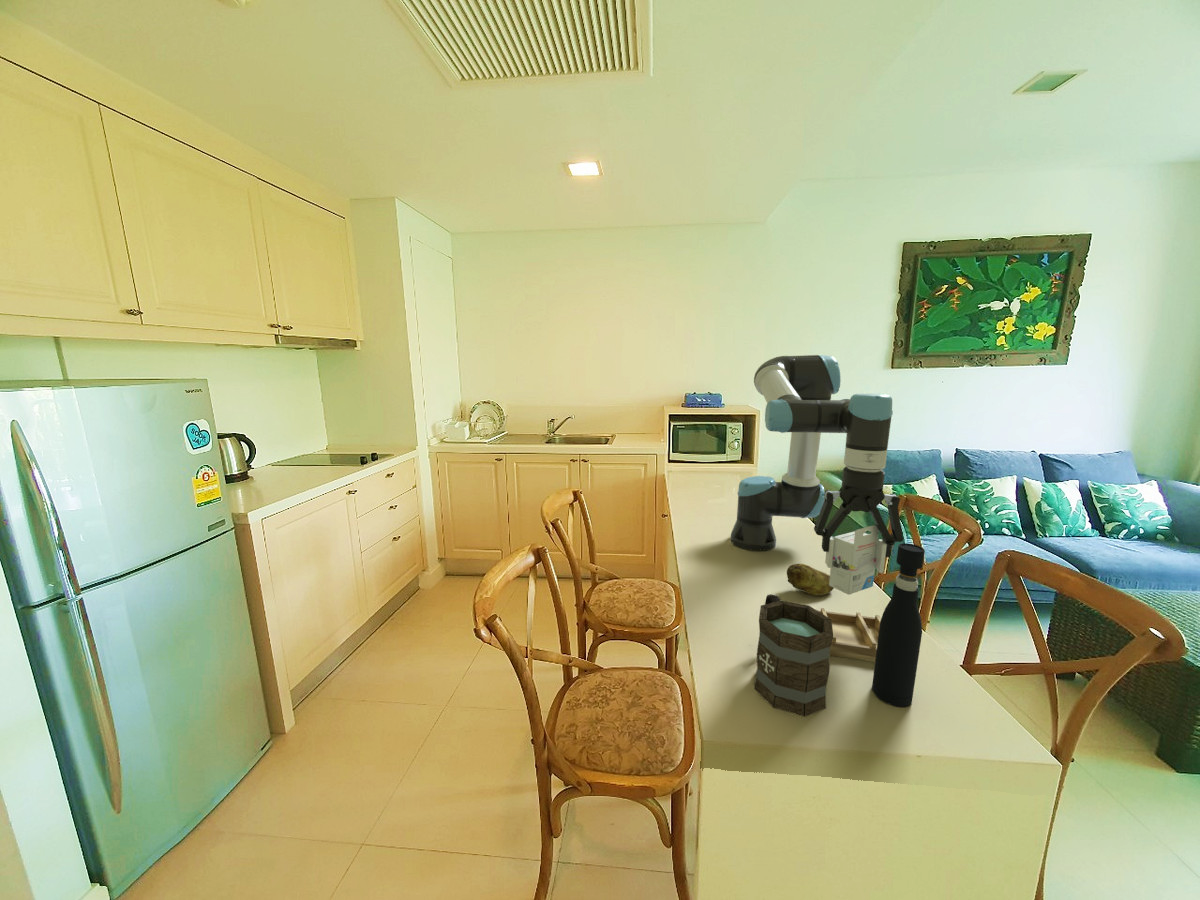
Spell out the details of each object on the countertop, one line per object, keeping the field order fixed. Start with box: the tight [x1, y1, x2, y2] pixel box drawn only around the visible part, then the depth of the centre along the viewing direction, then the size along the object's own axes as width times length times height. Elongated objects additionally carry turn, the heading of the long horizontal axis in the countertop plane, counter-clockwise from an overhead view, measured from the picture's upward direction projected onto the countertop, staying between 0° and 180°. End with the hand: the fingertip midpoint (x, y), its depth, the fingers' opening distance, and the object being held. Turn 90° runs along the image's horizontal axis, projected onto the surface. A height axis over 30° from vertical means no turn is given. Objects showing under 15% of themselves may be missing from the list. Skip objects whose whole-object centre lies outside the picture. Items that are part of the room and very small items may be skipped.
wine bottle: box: [871, 542, 926, 708], centre depth 80 cm, size 6×6×30 cm
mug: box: [754, 593, 833, 718], centre depth 86 cm, size 20×14×15 cm
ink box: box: [829, 524, 880, 596], centre depth 95 cm, size 8×5×15 cm, turn 116°
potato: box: [786, 563, 835, 596], centre depth 119 cm, size 8×13×8 cm, turn 75°
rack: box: [816, 607, 882, 663], centre depth 99 cm, size 13×20×4 cm, turn 74°
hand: (853, 567), depth 95 cm, fingers closed on ink box, 9 cm apart
